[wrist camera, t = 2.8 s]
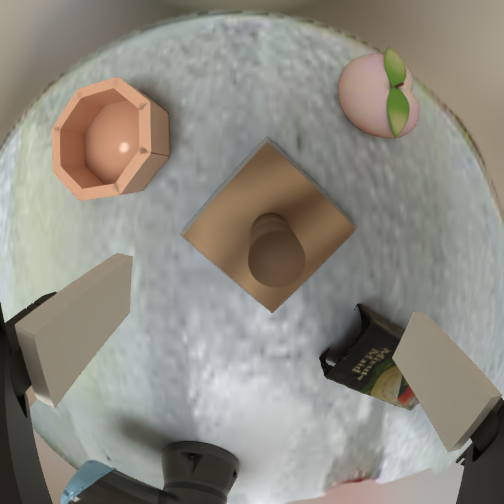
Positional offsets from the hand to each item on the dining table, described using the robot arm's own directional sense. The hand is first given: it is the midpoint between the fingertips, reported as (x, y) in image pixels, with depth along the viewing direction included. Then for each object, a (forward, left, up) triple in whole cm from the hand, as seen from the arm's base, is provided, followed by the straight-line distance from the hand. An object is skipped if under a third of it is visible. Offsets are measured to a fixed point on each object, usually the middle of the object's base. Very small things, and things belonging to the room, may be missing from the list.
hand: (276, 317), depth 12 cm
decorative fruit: (+2, -18, -21) cm, 28 cm away
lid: (0, 0, -19) cm, 19 cm away
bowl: (+20, +4, -21) cm, 29 cm away
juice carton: (-26, +2, -22) cm, 34 cm away
